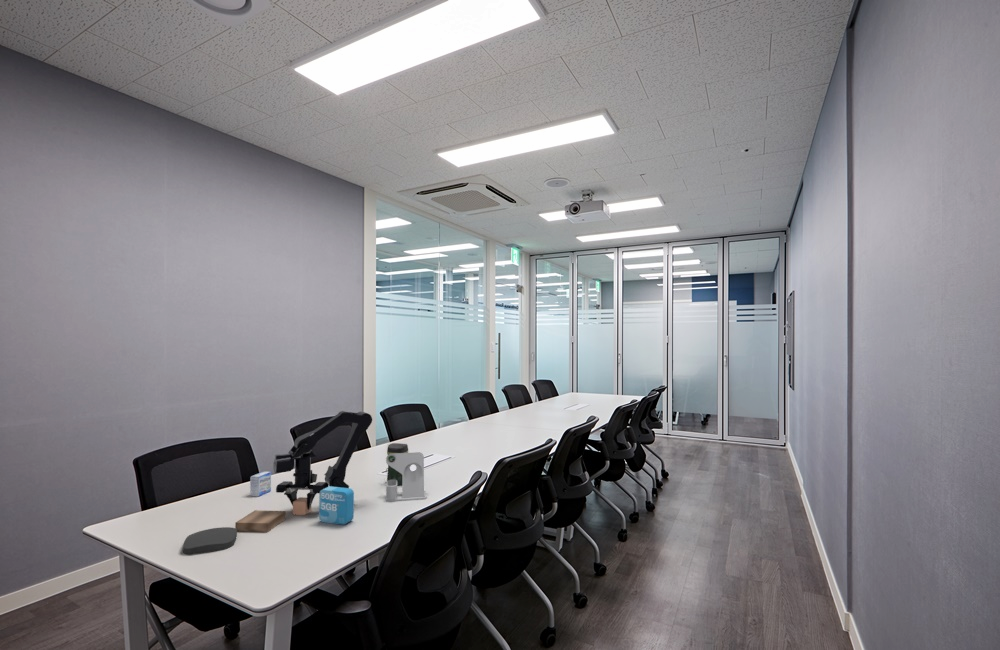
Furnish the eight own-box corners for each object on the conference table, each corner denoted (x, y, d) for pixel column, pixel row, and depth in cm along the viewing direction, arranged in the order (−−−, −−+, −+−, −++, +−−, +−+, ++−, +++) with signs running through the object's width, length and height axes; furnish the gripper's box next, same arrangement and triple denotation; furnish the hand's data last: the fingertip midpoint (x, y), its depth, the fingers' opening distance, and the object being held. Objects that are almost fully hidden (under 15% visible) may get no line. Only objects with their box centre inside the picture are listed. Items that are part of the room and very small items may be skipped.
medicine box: (258, 496, 202) (259, 476, 202) (249, 496, 203) (250, 476, 203) (271, 491, 210) (271, 471, 210) (262, 490, 211) (262, 471, 211)
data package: (318, 521, 175) (319, 489, 175) (326, 517, 179) (326, 485, 179) (346, 525, 171) (347, 492, 172) (353, 520, 176) (354, 488, 176)
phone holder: (385, 502, 196) (385, 458, 197) (385, 494, 206) (386, 453, 207) (427, 499, 200) (427, 456, 200) (425, 491, 210) (426, 451, 210)
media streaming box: (179, 557, 146) (180, 548, 146) (189, 539, 160) (189, 530, 160) (233, 549, 152) (233, 540, 152) (238, 532, 166) (238, 524, 166)
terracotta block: (311, 510, 186) (311, 497, 186) (305, 515, 181) (305, 501, 182) (298, 510, 187) (299, 497, 187) (292, 514, 182) (292, 501, 182)
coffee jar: (410, 481, 225) (410, 442, 226) (403, 486, 217) (403, 445, 218) (392, 479, 227) (392, 441, 228) (384, 484, 220) (384, 444, 220)
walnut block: (285, 519, 177) (285, 511, 177) (268, 531, 165) (268, 523, 165) (254, 518, 178) (254, 510, 178) (235, 531, 166) (235, 522, 166)
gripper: (334, 464, 192) (333, 502, 192) (289, 463, 193) (289, 501, 193) (322, 471, 181) (322, 512, 180) (275, 470, 182) (274, 511, 181)
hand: (302, 509), depth 184 cm, fingers closed on terracotta block, 5 cm apart
